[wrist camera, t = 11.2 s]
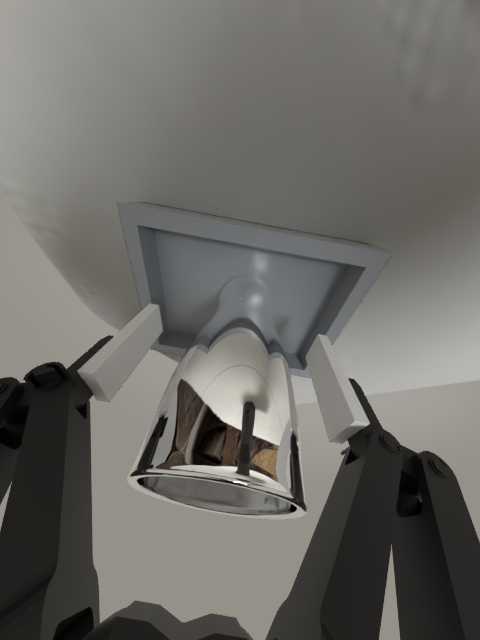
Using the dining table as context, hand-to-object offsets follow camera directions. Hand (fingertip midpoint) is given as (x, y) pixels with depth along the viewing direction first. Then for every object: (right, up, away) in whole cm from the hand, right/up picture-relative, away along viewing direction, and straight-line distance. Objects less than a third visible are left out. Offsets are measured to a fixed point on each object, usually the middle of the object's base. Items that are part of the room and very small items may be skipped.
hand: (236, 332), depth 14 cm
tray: (+1, +4, +5) cm, 6 cm away
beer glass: (+1, +3, +4) cm, 5 cm away
